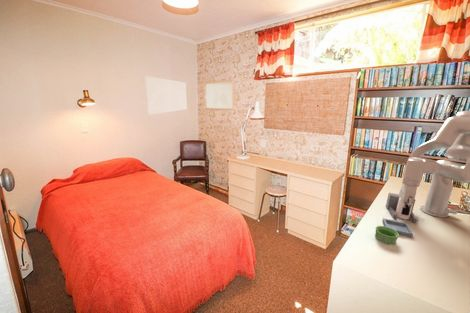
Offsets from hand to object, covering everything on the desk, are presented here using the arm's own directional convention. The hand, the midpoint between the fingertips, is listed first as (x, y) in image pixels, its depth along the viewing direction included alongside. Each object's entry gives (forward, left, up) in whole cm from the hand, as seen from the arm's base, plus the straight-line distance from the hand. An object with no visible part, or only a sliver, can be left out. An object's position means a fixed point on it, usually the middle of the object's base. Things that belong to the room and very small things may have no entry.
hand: (403, 211), depth 125 cm
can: (0, 0, -3) cm, 3 cm away
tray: (+6, +17, -3) cm, 18 cm away
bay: (0, -3, -3) cm, 4 cm away
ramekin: (+13, +30, -4) cm, 33 cm away
